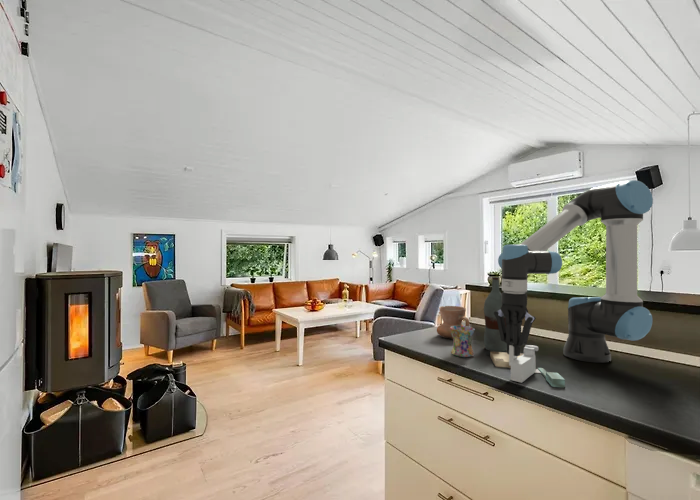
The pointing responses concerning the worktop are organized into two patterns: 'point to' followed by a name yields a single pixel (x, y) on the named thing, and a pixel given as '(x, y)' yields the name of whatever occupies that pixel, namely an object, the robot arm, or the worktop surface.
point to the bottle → (493, 319)
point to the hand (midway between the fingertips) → (513, 365)
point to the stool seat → (553, 378)
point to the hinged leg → (524, 364)
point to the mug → (462, 341)
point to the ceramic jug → (451, 319)
